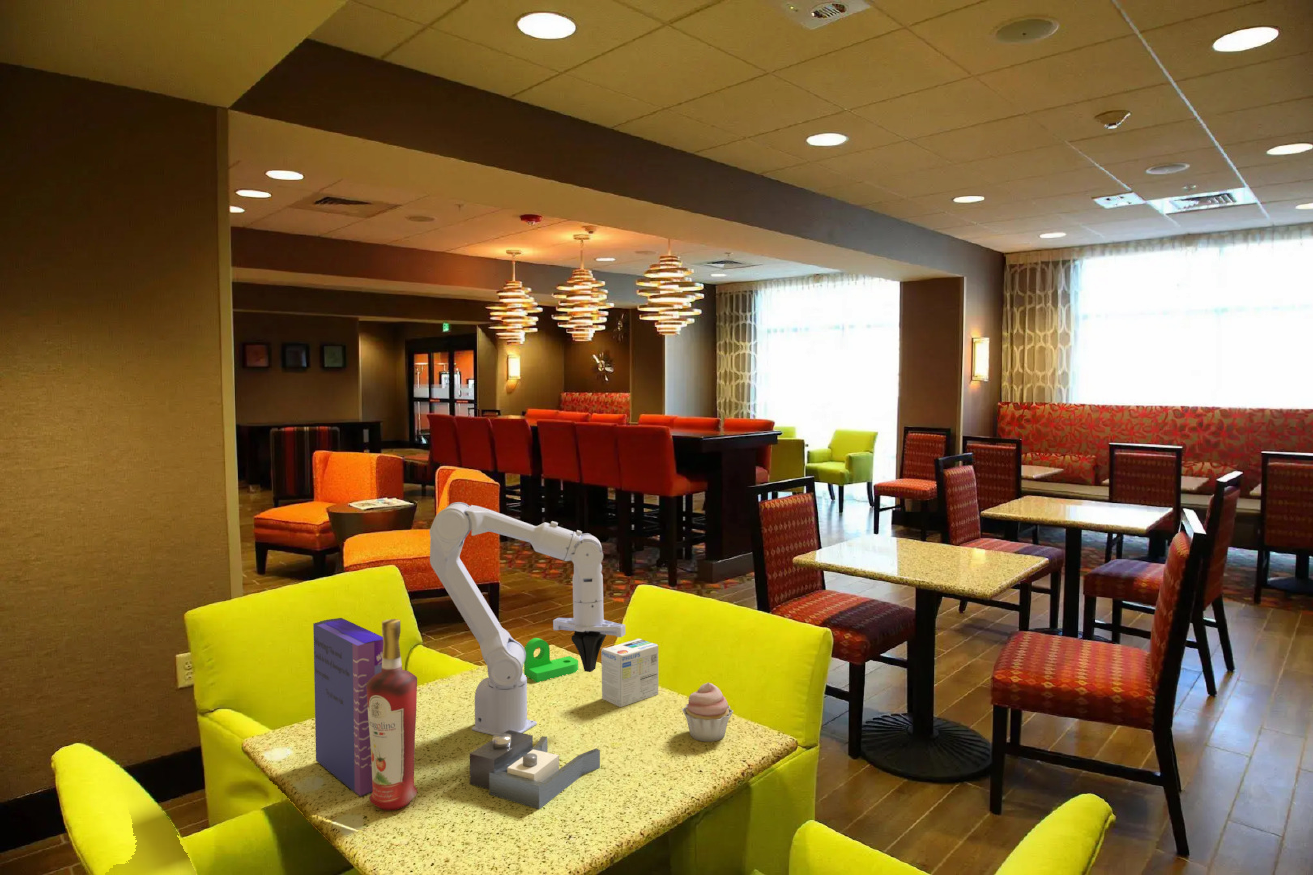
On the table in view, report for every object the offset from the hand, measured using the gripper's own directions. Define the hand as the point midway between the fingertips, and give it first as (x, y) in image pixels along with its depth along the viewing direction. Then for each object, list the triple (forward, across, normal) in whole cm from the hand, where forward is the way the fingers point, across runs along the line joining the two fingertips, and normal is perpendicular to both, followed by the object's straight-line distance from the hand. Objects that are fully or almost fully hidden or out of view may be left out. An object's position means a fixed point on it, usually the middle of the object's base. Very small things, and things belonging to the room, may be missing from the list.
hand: (589, 670), depth 144 cm
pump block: (+10, +3, -25) cm, 28 cm away
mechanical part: (+11, -21, +22) cm, 33 cm away
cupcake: (+11, +22, +4) cm, 25 cm away
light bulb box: (+11, +1, +15) cm, 19 cm away
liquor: (+10, -14, -38) cm, 41 cm away
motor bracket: (+10, +3, -23) cm, 25 cm away
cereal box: (+10, -27, -33) cm, 44 cm away
